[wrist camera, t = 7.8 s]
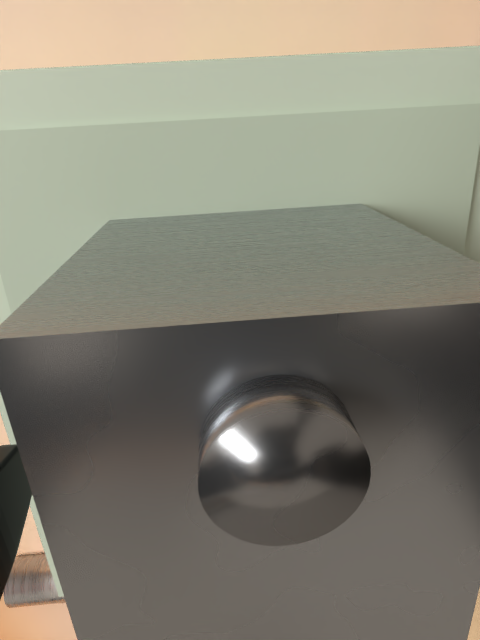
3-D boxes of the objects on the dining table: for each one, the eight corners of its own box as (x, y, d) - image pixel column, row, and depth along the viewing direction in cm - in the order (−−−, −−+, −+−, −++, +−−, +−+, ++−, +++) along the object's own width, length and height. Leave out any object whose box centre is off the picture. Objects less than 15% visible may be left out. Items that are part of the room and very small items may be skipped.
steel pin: (210, 537, 17) (208, 540, 16) (212, 585, 17) (210, 592, 15) (26, 553, 17) (6, 558, 16) (22, 602, 17) (1, 612, 15)
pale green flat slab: (469, 60, 11) (547, 40, 8) (411, 498, 16) (447, 564, 14) (-38, 86, 10) (-115, 74, 8) (80, 529, 16) (57, 603, 14)
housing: (360, 203, 9) (597, 323, 4) (344, 506, 13) (455, 812, 7) (109, 220, 9) (-51, 374, 3) (160, 523, 13) (121, 854, 7)
